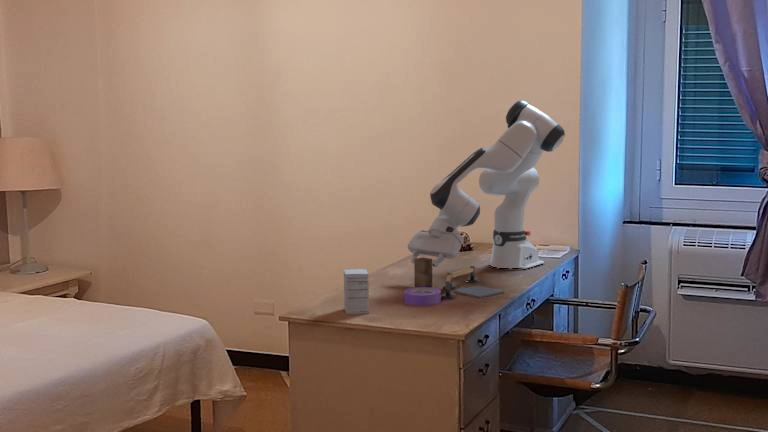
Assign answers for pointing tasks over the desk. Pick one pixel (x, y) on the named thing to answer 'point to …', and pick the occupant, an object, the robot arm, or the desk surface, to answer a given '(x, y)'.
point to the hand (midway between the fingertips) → (423, 264)
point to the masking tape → (422, 296)
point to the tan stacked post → (423, 272)
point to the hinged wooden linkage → (449, 286)
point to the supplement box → (356, 291)
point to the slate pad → (478, 291)
